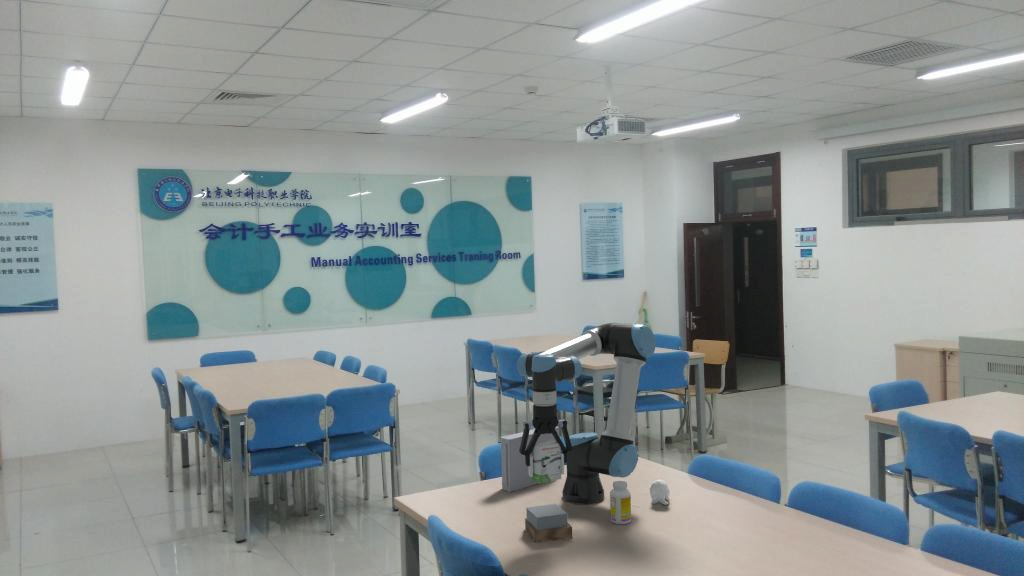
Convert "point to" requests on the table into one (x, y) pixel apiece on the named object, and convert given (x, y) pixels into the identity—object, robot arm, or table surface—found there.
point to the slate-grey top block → (546, 516)
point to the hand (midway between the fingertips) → (546, 474)
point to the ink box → (546, 461)
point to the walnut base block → (548, 532)
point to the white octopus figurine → (659, 492)
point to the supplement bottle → (620, 503)
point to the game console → (517, 461)
